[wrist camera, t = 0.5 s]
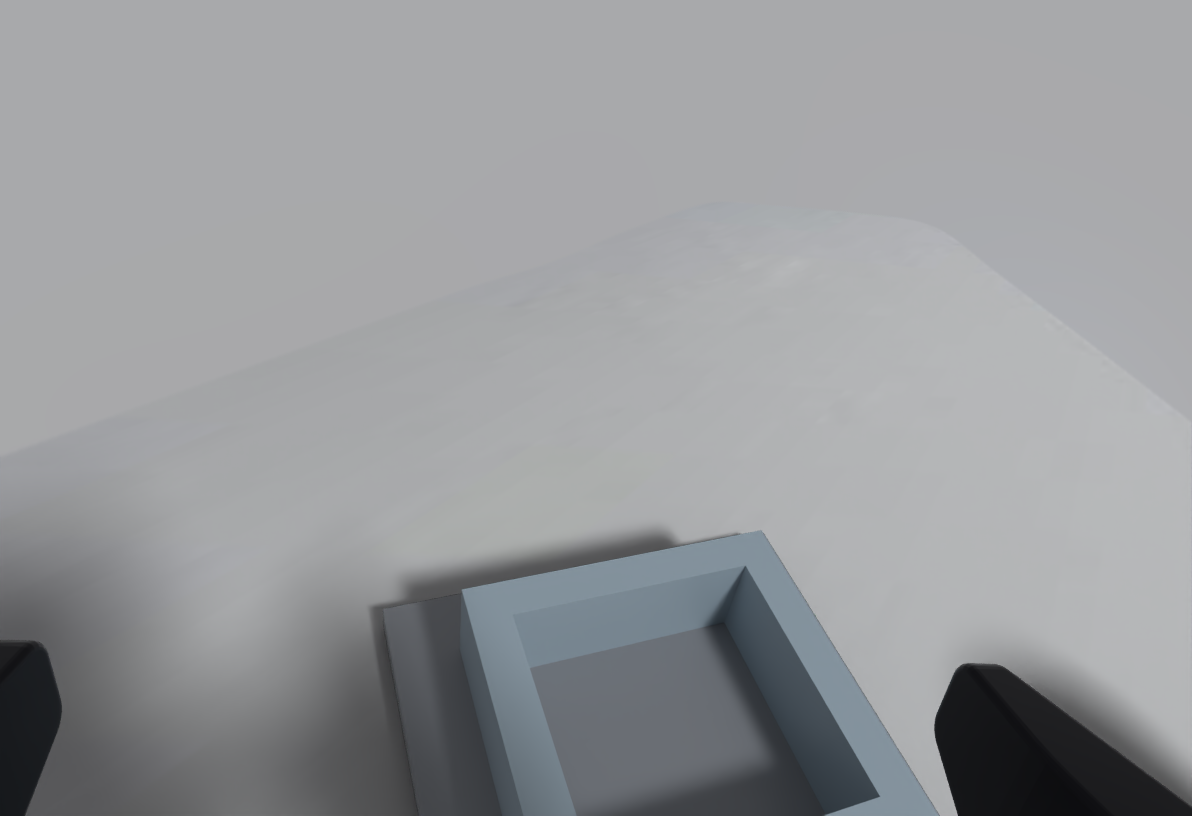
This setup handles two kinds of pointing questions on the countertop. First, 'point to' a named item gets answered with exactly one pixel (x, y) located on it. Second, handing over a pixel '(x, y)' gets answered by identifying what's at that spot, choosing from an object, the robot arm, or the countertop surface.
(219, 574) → the countertop surface
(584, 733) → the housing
